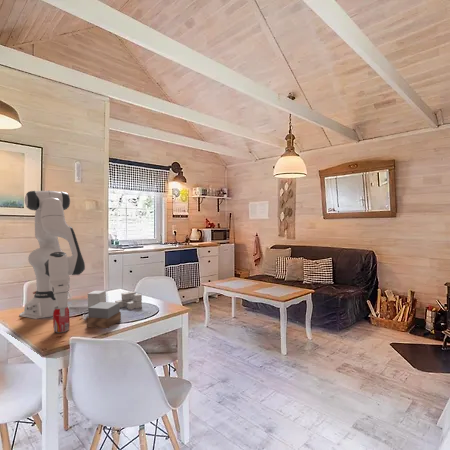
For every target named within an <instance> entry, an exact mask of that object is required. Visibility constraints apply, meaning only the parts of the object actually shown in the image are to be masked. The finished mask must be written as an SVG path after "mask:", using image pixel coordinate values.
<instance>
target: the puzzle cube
mask: <svg viewBox="0 0 450 450" xmlns="http://www.w3.org/2000/svg"><path fill="white" fill-rule="evenodd" d="M142 296H143V295H142V294H141V293H137V292H136V291H134V290H133V291H128V292H122V293H121V299H120V300H119V299H118V300H115V302H114V303H119V307H120V308H126V309H127V308H128V309H127V310H129V309H131V310H135V309H134V308H136V309H139V307H140V308H142V307H143V305H142V304H143V302H142V301H143V300H142Z"/></svg>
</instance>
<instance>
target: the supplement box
mask: <svg viewBox="0 0 450 450" xmlns="http://www.w3.org/2000/svg"><path fill="white" fill-rule="evenodd" d="M106 292H107V291H106V290H93V291H91V292H88V293H87V309H88V308H89V307H91V306H93V305H95V304H98V303H100V302H107V294H106Z"/></svg>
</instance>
